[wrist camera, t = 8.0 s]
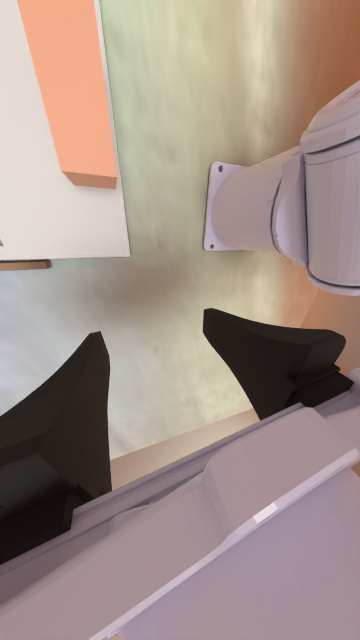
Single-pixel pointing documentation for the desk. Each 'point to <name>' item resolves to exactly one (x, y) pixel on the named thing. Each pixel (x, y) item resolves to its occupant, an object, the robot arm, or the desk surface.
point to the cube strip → (57, 135)
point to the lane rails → (24, 265)
